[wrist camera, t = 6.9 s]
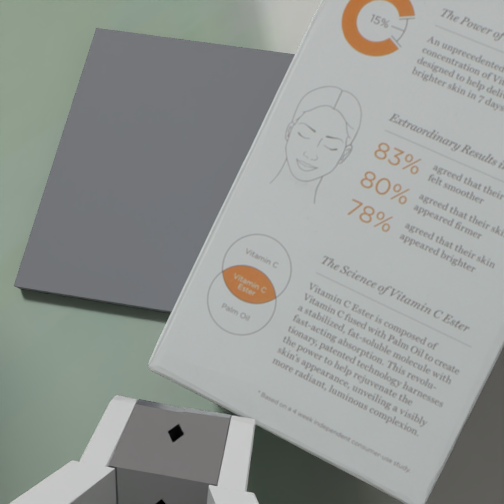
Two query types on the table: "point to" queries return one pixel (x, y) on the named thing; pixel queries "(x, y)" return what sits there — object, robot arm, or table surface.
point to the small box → (361, 245)
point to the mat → (146, 166)
